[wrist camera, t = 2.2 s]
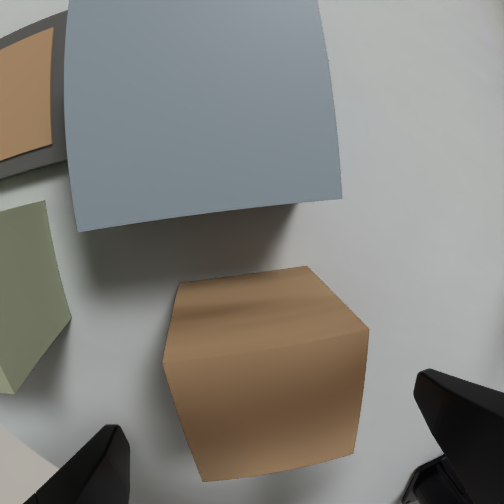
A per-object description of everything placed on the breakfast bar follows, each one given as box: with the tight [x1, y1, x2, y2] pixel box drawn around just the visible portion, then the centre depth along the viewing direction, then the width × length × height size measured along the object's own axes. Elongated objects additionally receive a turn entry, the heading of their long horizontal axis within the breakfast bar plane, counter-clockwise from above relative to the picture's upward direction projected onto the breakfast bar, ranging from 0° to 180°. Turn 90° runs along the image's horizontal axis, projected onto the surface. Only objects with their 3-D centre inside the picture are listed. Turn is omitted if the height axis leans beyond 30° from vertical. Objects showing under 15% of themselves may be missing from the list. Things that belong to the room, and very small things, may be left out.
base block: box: [64, 0, 342, 232], centre depth 9 cm, size 7×7×4 cm
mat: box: [0, 10, 68, 180], centre depth 9 cm, size 6×6×1 cm
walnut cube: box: [162, 266, 369, 482], centre depth 10 cm, size 5×5×6 cm
